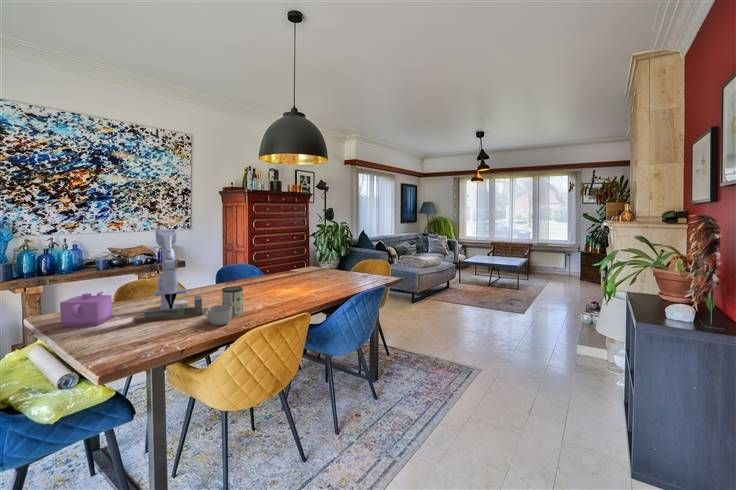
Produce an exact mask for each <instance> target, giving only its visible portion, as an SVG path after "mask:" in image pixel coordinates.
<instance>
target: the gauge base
mask: <svg viewBox="0 0 736 490" xmlns="http://www.w3.org/2000/svg"><path fill="white" fill-rule="evenodd" d="M193 297H194V300H193V301H194V305H193V307H191V306H190V307H189V306H187V308H182V309H174V308H173V309H163V310H160V309H158V310H149V311H148V310H147V311H143V312H139V313H136V316H135V320H134V321H135V323H136V324H137V323H147V322H155V321H163V320H173V319H182V318H183V319H184V318H190V317H201V316H204V314H203V310H204V309H203V301H202V300H203V298H202V296H201V294H196V295H193Z"/></svg>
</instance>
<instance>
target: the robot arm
mask: <svg viewBox="0 0 736 490" xmlns="http://www.w3.org/2000/svg"><path fill="white" fill-rule="evenodd" d="M176 240H177V230H176V229H175V228H172V229H171V228H167V229H165V228H162V229H161V228H159V229H158V228H157V229H155V243H156V245H158V246H159V247H160V249H161V261H162V262H161V265H162V266H161V267H162V275H160V276H159V277H158V278H157V291H154V292H153V293H154V294H153V295H154V297H158V296H160V306H159V310H166V309H174V301H177V299H176V298H177V295H183V294H184V295H186V294H187V289H186V288H185V289H179V281H178V276H177V270H178V261H177V257H176V254H175V253H176V252H175V250H174V248H172V247H173V246H174V245H175V244H176Z"/></svg>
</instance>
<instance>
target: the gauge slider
mask: <svg viewBox="0 0 736 490" xmlns="http://www.w3.org/2000/svg"><path fill="white" fill-rule="evenodd" d="M187 307H188V300H176V301H174V308H173V309H182V308H187Z"/></svg>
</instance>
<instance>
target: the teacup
mask: <svg viewBox="0 0 736 490" xmlns="http://www.w3.org/2000/svg"><path fill="white" fill-rule="evenodd" d="M231 308H232V307H231V306H228V305H222V304H219V305H212V306H210V307H209V306H208V307H204V309H202V310H203V316H205V317H206V318H207V319H208V322H209V323H210V324H211V325H213V326H218V327H219V326H225V325H226V324H228V323H230V321H231V319H232V317H231Z"/></svg>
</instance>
